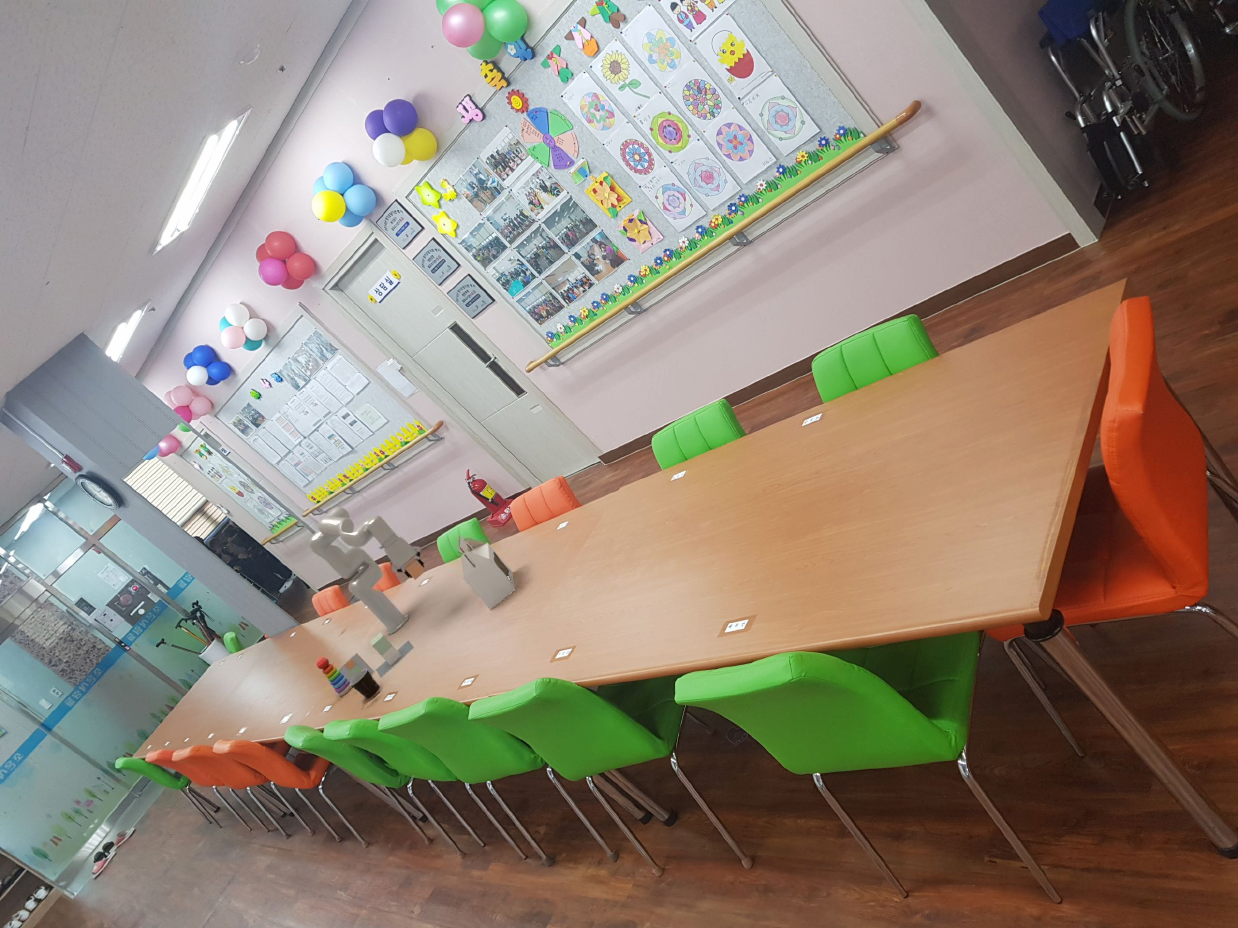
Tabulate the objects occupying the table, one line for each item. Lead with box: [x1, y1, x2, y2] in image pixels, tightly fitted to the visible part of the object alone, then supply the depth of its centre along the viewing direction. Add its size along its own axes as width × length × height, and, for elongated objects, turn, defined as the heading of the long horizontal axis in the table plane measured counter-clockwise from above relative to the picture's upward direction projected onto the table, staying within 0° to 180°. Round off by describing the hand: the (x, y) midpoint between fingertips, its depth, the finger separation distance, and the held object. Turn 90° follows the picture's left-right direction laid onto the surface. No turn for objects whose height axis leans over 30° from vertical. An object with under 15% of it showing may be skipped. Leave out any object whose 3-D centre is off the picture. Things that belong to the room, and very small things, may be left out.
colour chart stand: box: [337, 652, 375, 683], centre depth 353 cm, size 4×10×12 cm, turn 120°
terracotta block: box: [403, 557, 427, 581], centre depth 355 cm, size 8×6×6 cm
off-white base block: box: [381, 645, 402, 666], centre depth 351 cm, size 8×6×6 cm
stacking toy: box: [316, 657, 353, 697], centre depth 359 cm, size 8×8×19 cm
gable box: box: [457, 535, 517, 610], centre depth 338 cm, size 22×13×28 cm, turn 13°
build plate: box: [375, 640, 415, 679], centre depth 352 cm, size 14×18×1 cm
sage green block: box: [369, 631, 394, 657], centre depth 349 cm, size 8×6×6 cm
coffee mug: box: [350, 669, 381, 701], centre depth 332 cm, size 12×9×10 cm
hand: (417, 571), depth 355 cm, fingers closed on terracotta block, 6 cm apart
